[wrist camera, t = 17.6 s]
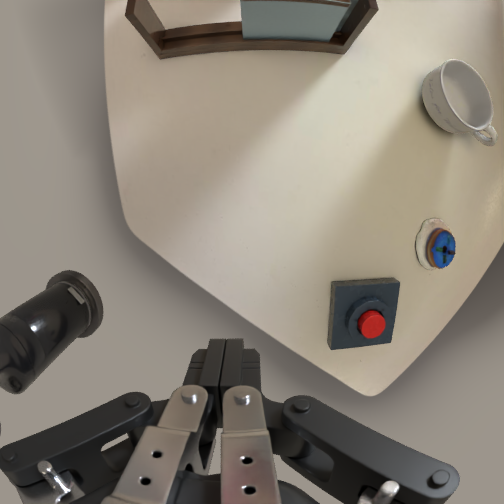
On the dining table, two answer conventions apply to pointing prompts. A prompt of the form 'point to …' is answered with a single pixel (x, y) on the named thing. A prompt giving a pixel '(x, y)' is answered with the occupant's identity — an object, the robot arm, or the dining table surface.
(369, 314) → the button
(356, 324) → the button box
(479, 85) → the teacup
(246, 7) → the window pane
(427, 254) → the dessert
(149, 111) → the dining table surface
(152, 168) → the dining table surface
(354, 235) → the dining table surface
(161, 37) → the window frame
